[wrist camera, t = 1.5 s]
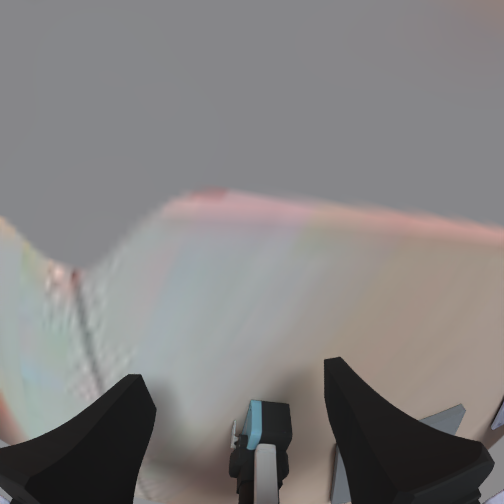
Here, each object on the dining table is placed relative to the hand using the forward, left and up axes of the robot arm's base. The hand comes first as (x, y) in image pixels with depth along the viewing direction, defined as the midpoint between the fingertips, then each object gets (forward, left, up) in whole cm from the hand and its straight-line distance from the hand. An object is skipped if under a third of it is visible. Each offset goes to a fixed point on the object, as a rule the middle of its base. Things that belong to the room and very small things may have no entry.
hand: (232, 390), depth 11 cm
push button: (0, +7, -4) cm, 8 cm away
